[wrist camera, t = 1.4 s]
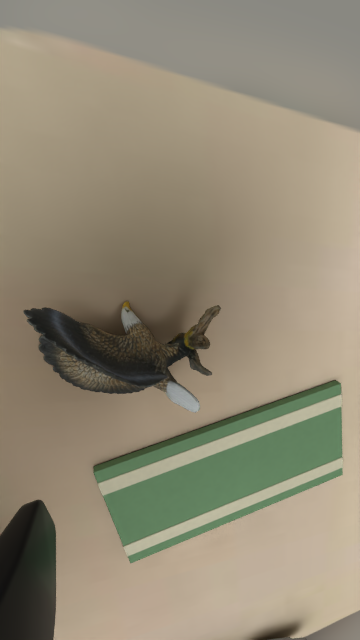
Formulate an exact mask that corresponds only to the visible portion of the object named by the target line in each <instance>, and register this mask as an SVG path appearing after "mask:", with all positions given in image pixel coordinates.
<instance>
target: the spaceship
mask: <svg viewBox="0 0 360 640" xmlns="http://www.w3.org/2000/svg"><path fill="white" fill-rule="evenodd" d="M269 640H307V639H306V638H305V637H304V638H294V639H291V638H290V637H286V638H277V639H269Z"/></svg>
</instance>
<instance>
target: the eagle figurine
mask: <svg viewBox="0 0 360 640" xmlns="http://www.w3.org/2000/svg"><path fill="white" fill-rule="evenodd" d="M220 309H221V308H220V306H219V305H217V306H214V307H212V308H209V309H207V310H206V312H205V314H204V315H203V316H202V317H201V318H200V320H199V322H198V324H196V325H195V326H193V327H192V328H191V329H190V330H189V331H188V332H187V333H179V334H178V335H176V336H175V337H174V338H173V340H172V341H170V342H168V343H167V344H165V345H164V344H160V343H158V342H156V341H155V339H154V337H153V335H152V333H151V332H150V331H149V330H148V328H147V327H146V326H145V325H144V324H143V323H142V322H141V321H140V320H139V319H138V318H137V316H136V315H135V314H134V313H133V311H132V310H131V309H130V306H129V302H127V301H126V302H125V303H124V304H123V308H122V312H121V320H122V323H123V326H124V329H125V331H126V335H121V336H118V335H113V334H109V333H107V332H105V331H103V330H100V329H99V328H97V327H95V326H92V325H89V324H85V323H80V322H77V321H75V320H74V319H72V318H71V317H69V316H67V315H65V314H63V313H61V312H59V311H57V310H53V309H51V308H42V310H41V309H35V308H33V309H31V310H24V314H25V315H26V316H27V317H28V318H29V319H27V322H28V323H29V324H30V325H32V326H33V327H34V330H35V331H37V332H39V333H41V334H43V336H41V337H40V338H39V341H40V343H41V344H40V345H39V350H40V351H41V352H42V353H43V354H44V355H45V356H44V360H45V361H46V362H47V363H49V364H51V365H54V367H53V370H54V371H55V372H57V373H59V374H60V377H61V378H62V379H65V380H66V382H69V383H72V384H73V386H76V387H80V388H81V389H84V390H90V391H95V392H103V393H110V394H112V393H117V394H125V393H133V392H139V391H140V390H144V389H145V388H147V387H151V386H154V387H156V388H158V389H160V390H162V391H164V392H166V394H167V396H168V398H169V399H170V400H171V401H173V402H174V403H176V404H178V405H180V406H182V407H184V408H185V409H187V410H190V411H191V412H197V411H199V410H200V404H199V401H198V400H197V398H196V397H195V396H194V395H193V394H191V393H190V392H189V391H188V390H187V389H186V388H185V387H183V386H182V385H180V384H179V383H177V382H176V380H175V379H174V378H173V376H172V375H171V373H170V372H169V370H168V366H171V365H172V364H173V363H174V362H176V361H177V360H180V359H181V358H183V357H185V356H187V357H188V358H189V361H190V367H191V369H193V370H197V371H199V372H200V373H202V374H204V375H206V376H208V375H212V372H210V371H209V370H208V369H206V368H204V367H203V366H202V364H201V363H200V360H199V356H198V353H197V351H196V350H195V349H208V348H209V346H210V342H209V340H208V338H207V337H205V336H204V333H205V331H206V329H207V327H208V325H209V323H210V322H211V320H212V319H213V318H214V317H215V316H217V314H218V313H219V311H220Z"/></svg>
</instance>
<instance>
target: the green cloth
mask: <svg viewBox="0 0 360 640" xmlns="http://www.w3.org/2000/svg"><path fill="white" fill-rule="evenodd" d="M341 406H342V394H341V383H339V382H338V381H336V380H335V381H332V382H329V383H327V384H324V385H321V386H318V387H315V388H313V389H310V390H307V391H304V392H301V393H299V394H296V395H293V396H290V397H287V398H285V399H282V400H279V401H276V402H273V403H271V404H268V405H265V406H262V407H259V408H257V409H254V410H251V411H248V412H245V413H243V414H240V415H237V416H234V417H231V418H229V419H226V420H223V421H220V422H217V423H214V424H212V425H209V426H206V427H203V428H200V429H198V430H195V431H192V432H189V433H186V434H184V435H181V436H178V437H175V438H172V439H170V440H167V441H164V442H161V443H158V444H156V445H153V446H150V447H147V448H144V449H142V450H139V451H136V452H133V453H130V454H128V455H125V456H122V457H119V458H116V459H113V460H111V461H108V462H105V463H102V464H99V465H97V466H94V475H95V478H96V480H97V483H98V486H99V489H100V491H101V493H102V496H103V497H104V500H105V502H106V505H107V507H108V509H109V512H110V514H111V517H112V519H113V522H114V524H115V526H116V529H117V531H118V534H119V536H120V539H121V541H122V544H123V547H124V550H125V552H126V554H127V556H128V558H129V561H130V563H133V562H135V561H137V560H140V559H142V558H145V557H147V556H149V555H152V554H154V553H157V552H159V551H161V550H164V549H166V548H169V547H171V546H173V545H176V544H178V543H180V542H183V541H185V540H188V539H190V538H192V537H195V536H197V535H200V534H202V533H204V532H207V531H209V530H212V529H214V528H216V527H219V526H221V525H223V524H226V523H228V522H231V521H233V520H235V519H238V518H240V517H243V516H245V515H247V514H250V513H252V512H255V511H257V510H259V509H262V508H264V507H267V506H269V505H271V504H274V503H276V502H278V501H281V500H283V499H286V498H288V497H290V496H293V495H295V494H298V493H300V492H302V491H305V490H307V489H310V488H312V487H314V486H317V485H319V484H322V483H324V482H326V481H329V480H331V479H333V478H336V477H338V476H341V475H342V468H343V457H342V419H341Z"/></svg>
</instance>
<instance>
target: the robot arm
mask: <svg viewBox="0 0 360 640" xmlns="http://www.w3.org/2000/svg"><path fill="white" fill-rule="evenodd" d="M55 613H56V531H55V525H54V522H53V520H52V518H51V516H50V514H49V512H48V510H47V508H46V506H45V504H44V503H43V501H42V500H36V501H33V502H30V503H27V504H25V505H23V506H22V507H21V508H20V509H19V510H18V512H17V513H16V514H15V516H14V517H13V519H12V520H11V521H10V523H9V524H8V526H7V527H6V528H5V530H4V531H3V533H2V534H1V535H0V640H53V637H54V626H55Z"/></svg>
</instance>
